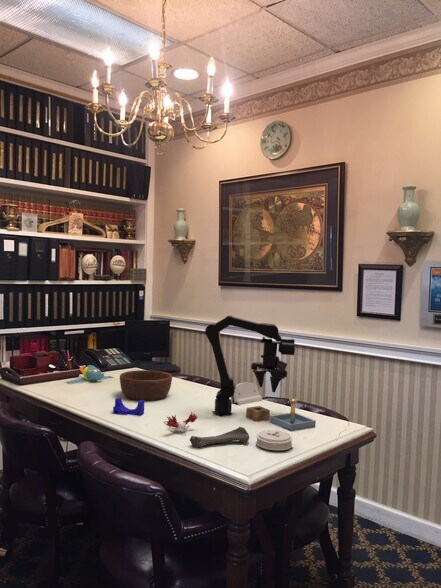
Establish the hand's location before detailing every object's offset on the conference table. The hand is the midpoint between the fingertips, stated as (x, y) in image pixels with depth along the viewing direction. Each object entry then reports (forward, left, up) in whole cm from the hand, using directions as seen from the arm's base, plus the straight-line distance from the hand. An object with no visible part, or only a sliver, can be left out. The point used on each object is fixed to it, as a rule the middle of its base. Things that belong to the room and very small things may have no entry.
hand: (267, 389), depth 212 cm
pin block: (-5, -1, -12) cm, 13 cm away
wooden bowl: (-33, +52, -12) cm, 63 cm away
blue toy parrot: (-46, +94, -13) cm, 106 cm away
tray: (+3, -14, -12) cm, 18 cm away
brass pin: (+3, -14, -11) cm, 18 cm away
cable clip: (-52, +27, -12) cm, 60 cm away
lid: (-20, -31, -12) cm, 39 cm away
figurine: (-43, -2, -12) cm, 45 cm away
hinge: (+7, +25, -12) cm, 28 cm away
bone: (-36, -22, -12) cm, 44 cm away
